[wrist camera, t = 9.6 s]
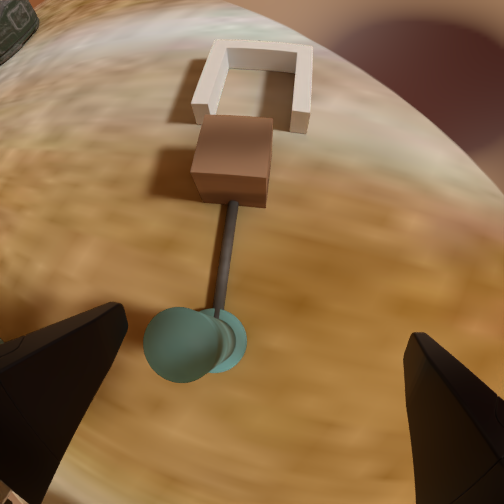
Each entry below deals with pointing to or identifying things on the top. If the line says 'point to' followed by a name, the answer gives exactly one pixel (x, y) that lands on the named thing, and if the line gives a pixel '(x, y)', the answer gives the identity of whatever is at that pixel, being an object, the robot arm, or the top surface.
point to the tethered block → (221, 192)
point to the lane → (257, 58)
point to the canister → (15, 26)
